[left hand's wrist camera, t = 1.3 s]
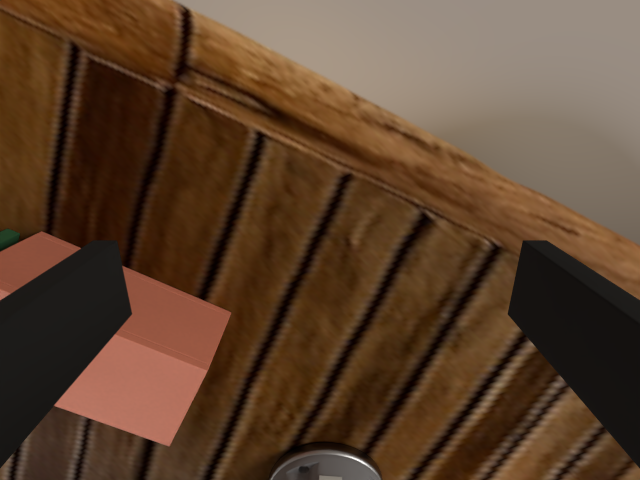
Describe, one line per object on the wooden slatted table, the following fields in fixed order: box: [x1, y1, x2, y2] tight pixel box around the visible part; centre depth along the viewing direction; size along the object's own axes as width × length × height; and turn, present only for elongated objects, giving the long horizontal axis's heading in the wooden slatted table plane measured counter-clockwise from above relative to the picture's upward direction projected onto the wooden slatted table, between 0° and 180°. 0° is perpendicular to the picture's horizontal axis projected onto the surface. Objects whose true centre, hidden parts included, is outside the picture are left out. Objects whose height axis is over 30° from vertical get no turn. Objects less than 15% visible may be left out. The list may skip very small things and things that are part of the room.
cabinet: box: [0, 231, 231, 446], centre depth 37 cm, size 21×10×9 cm, turn 63°
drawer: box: [0, 229, 20, 252], centre depth 36 cm, size 25×9×8 cm, turn 63°
